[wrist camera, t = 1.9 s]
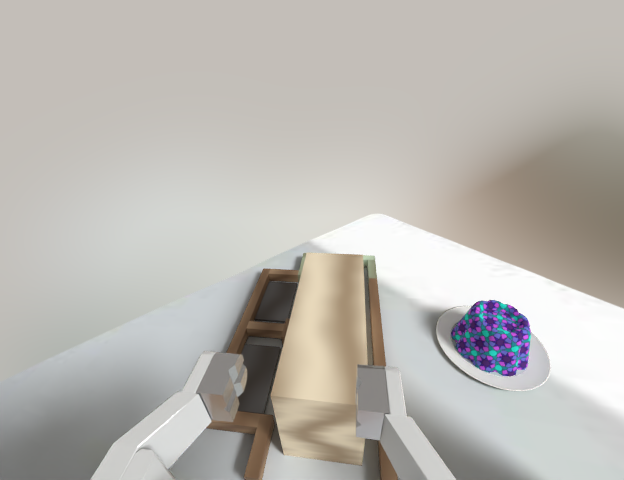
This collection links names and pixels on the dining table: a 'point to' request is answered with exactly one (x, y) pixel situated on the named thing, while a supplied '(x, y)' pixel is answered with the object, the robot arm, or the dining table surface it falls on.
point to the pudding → (494, 345)
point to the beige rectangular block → (323, 361)
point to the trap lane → (263, 359)
